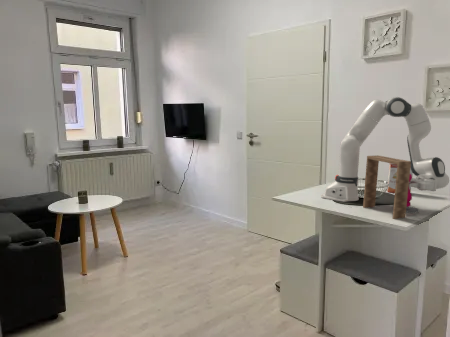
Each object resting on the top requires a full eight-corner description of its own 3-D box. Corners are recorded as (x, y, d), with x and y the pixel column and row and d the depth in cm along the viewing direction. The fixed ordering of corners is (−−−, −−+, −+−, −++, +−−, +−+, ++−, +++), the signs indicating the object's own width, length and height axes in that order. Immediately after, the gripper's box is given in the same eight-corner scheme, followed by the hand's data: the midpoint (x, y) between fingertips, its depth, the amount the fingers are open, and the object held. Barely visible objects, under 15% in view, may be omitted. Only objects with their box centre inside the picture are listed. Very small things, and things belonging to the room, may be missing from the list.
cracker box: (387, 192, 248) (390, 161, 244) (386, 190, 253) (389, 160, 250) (410, 194, 244) (414, 163, 240) (409, 192, 249) (412, 161, 246)
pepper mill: (407, 207, 200) (409, 171, 197) (394, 205, 206) (396, 169, 202) (413, 205, 205) (416, 169, 201) (401, 202, 210) (403, 167, 207)
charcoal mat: (395, 210, 205) (396, 209, 205) (397, 206, 214) (397, 205, 214) (418, 213, 200) (418, 212, 199) (418, 208, 209) (418, 207, 209)
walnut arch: (393, 219, 189) (399, 162, 184) (363, 207, 211) (367, 155, 206) (405, 217, 192) (410, 161, 187) (373, 206, 213) (377, 155, 208)
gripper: (409, 173, 217) (390, 175, 212) (439, 180, 198) (419, 181, 193) (408, 184, 218) (389, 185, 213) (438, 191, 199) (418, 193, 194)
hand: (404, 184), depth 203 cm, fingers closed on pepper mill, 5 cm apart
